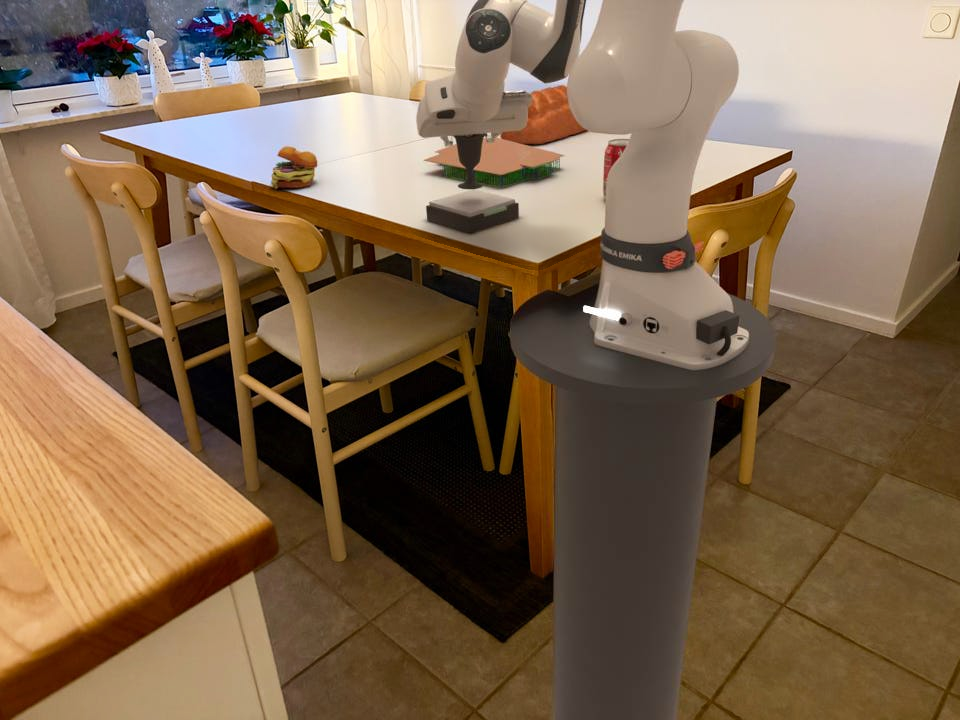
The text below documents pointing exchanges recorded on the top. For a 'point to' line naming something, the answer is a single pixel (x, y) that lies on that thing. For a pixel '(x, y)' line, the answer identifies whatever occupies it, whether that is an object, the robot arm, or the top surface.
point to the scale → (472, 210)
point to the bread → (546, 118)
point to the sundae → (469, 156)
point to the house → (501, 160)
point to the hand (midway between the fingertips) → (468, 141)
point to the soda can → (612, 157)
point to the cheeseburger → (294, 169)
